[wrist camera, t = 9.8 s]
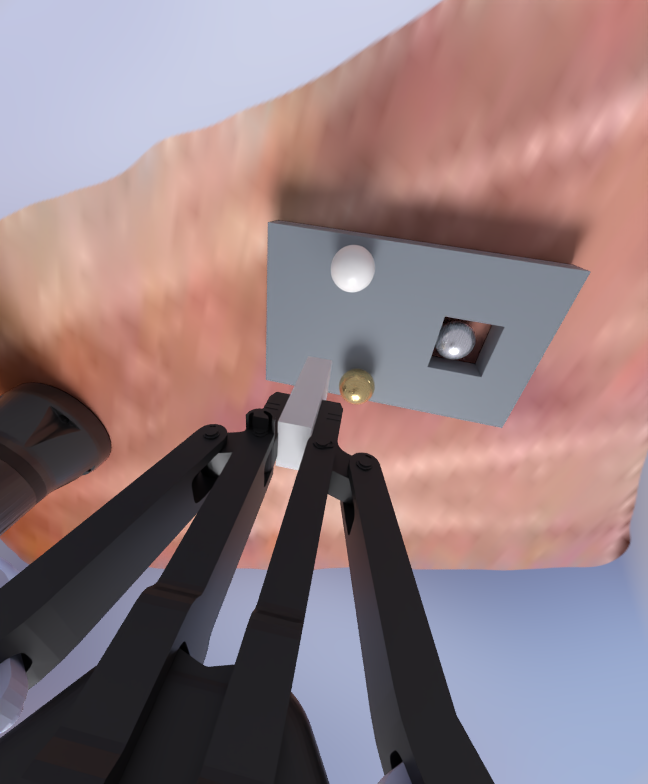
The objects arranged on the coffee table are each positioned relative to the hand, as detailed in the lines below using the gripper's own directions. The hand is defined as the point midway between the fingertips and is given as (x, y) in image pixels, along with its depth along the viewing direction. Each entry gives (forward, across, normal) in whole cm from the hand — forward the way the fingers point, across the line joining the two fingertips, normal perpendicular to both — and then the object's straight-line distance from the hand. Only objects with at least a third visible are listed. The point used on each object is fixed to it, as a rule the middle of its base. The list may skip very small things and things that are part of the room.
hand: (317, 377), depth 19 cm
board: (+11, +5, 0) cm, 12 cm away
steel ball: (+9, +10, 0) cm, 14 cm away
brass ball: (+7, +3, -4) cm, 9 cm away
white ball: (+7, +1, +5) cm, 9 cm away
